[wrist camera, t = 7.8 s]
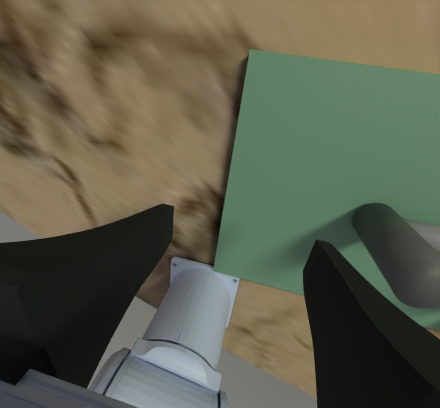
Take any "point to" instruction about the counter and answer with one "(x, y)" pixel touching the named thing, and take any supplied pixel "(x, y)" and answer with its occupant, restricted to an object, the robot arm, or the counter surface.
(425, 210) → the board
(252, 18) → the counter surface
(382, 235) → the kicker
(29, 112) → the counter surface
